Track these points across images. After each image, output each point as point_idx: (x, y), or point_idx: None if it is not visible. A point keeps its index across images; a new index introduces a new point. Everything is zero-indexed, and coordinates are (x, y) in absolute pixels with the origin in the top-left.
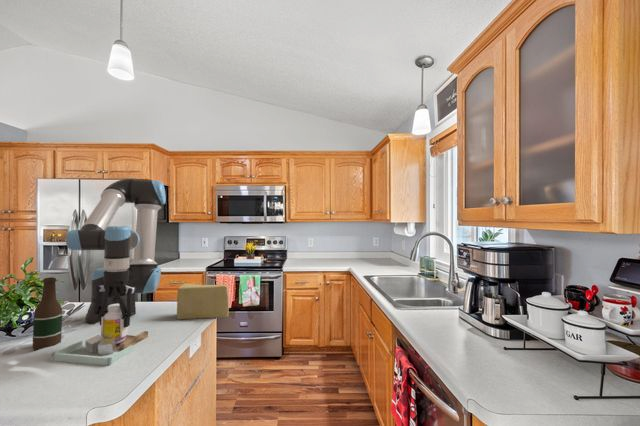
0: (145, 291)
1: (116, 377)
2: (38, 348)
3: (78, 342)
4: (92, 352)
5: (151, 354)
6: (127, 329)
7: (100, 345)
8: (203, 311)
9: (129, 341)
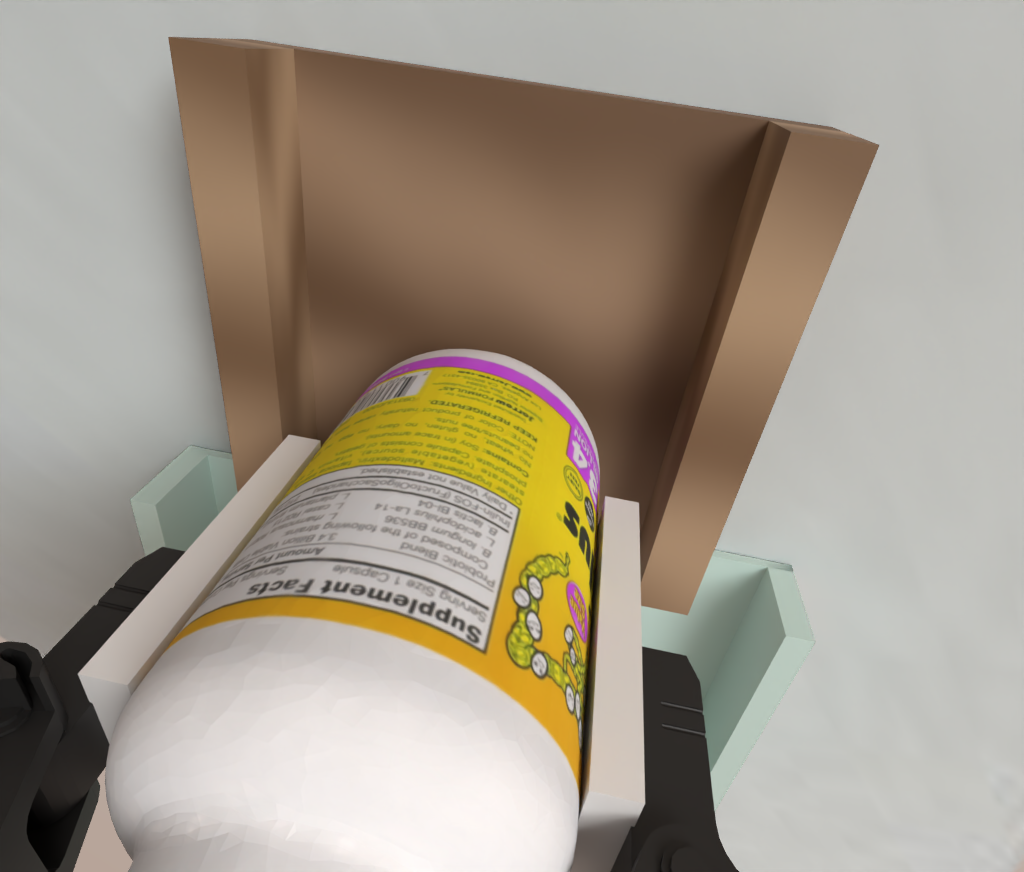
0: None
1: (810, 826)
2: None
3: (156, 536)
4: None
5: (1004, 580)
6: (637, 566)
7: None
8: None
9: (713, 547)
